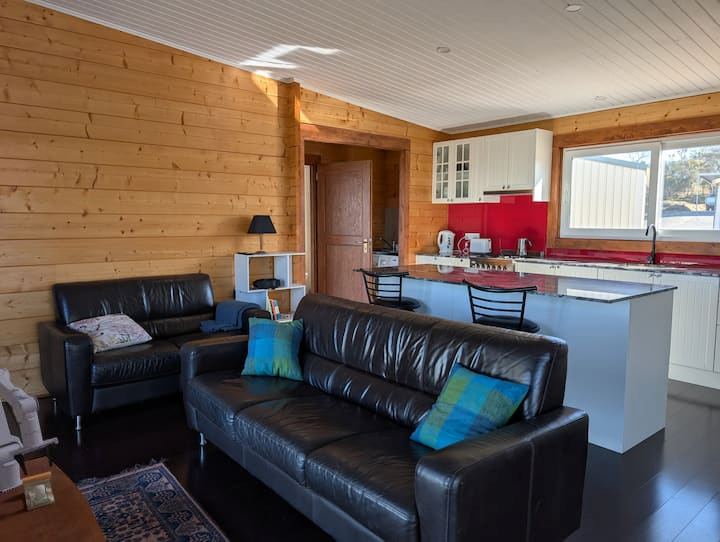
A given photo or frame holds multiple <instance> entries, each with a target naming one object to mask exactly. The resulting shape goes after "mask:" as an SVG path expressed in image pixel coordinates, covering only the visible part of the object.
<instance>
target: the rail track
mask: <svg viewBox="0 0 720 542" xmlns="http://www.w3.org/2000/svg"><path fill="white" fill-rule="evenodd" d="M51 482H52V481H51V478H49V479H45V480H41V481H37V482H33V483H30V484H26V485H23V490H24V497H25V501H26V508H27V511H31V510H34V509H38V508H42V507H45V506H49V505H52V504H55V503H56V502H55V498H54V493H53V491H52V486H51V485H52V484H51ZM38 485H45V494H47V498H48V501H47V502H43V503H40V504H36V505H34V500H33V497H35V487H36V486H38Z"/></svg>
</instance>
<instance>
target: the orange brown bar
mask: <svg viewBox="0 0 720 542" xmlns="http://www.w3.org/2000/svg"><path fill="white" fill-rule="evenodd" d="M51 478H52V471H46V472H42V473H39V474H34V475H31V476H30V475H29V476H26V477H24V478H23V477H22V478H21V480H22V483H23V484H22V486H24V485H26V484H30V483H33V482H37V481H41V480H45V479H51Z"/></svg>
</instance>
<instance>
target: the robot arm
mask: <svg viewBox="0 0 720 542" xmlns="http://www.w3.org/2000/svg"><path fill="white" fill-rule="evenodd" d="M1 393H3V394H4V399H5V401H6V402H7V403H8V404H9V405H10V406H11V408H12V411H13V414H14V416H15V419H16V422H17V423H18V426H19V429H20V434H21V440H22V441H21V440H20V437H17V436H15V435H11V432H10V429H9V425H8V421H7V417H6V414H5V411H4V407H3V403H2V400H1V398H0V492H1V491H2V492H1V493H5V492H8V491H10V490H12V488H13V489H15V488H17V487H20V486H23V483H22V478H21V472H20V471H21V470H22V472H23V475H24V476H26V477H27V476H28V472H27V469H26V464H25V459H24V455H25V454H28V453H31V452H34V451H36V450H39V449H42V448H45V450H46V454H47V460H48V466H49V467H50V468H51V467H52V468H53V459H54V455H55V454H54V453H55V451H56V445H57V444H59V440H58V437H53V438H50V439H45V440H43V436H42V431H41V426H40V422H39V421H40V420H39V417H38V412H39V410H40V405H39V401H38V398H37V397H36V396H35V395H28V394H27V393H26V392H25V391H24V390H23V389H21V388H20V387H19V386H18V387H17V386H14V385H13V383H12V382H11V375H10V372H9V370H8V369H7V368H5V367H2V368H0V394H1ZM20 468H21V470H20ZM9 489H10V490H9ZM7 490H8V491H7ZM4 491H5V492H4Z"/></svg>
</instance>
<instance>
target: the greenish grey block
mask: <svg viewBox="0 0 720 542" xmlns="http://www.w3.org/2000/svg"><path fill="white" fill-rule="evenodd" d="M33 500H34V505H36V504H40V503H43V502H47V501H48V498H47V494H45V485H38V486H36V487H35V497H33Z"/></svg>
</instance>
